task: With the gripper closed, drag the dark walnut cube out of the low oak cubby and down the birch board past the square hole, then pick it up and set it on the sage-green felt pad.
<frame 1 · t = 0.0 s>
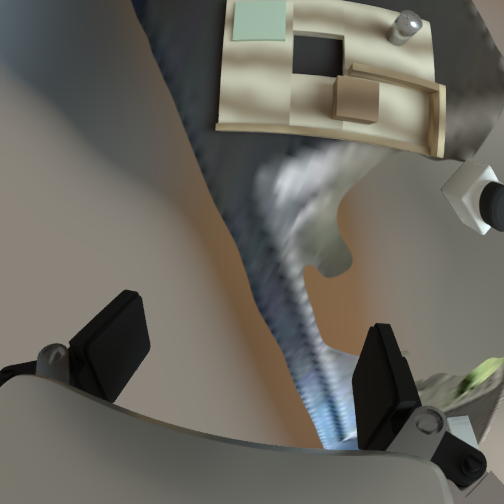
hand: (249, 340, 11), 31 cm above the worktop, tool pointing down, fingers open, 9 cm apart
board: (332, 65, 31), on the worktop
walnut cube: (351, 104, 31), point 2 cm above the worktop, touching board
supplement box: (448, 424, 52), on the worktop
grey metal peg: (395, 37, 26), point 2 cm above the worktop, touching board
medicine bottle: (463, 191, 34), on the worktop
pad: (260, 21, 29), resting on board
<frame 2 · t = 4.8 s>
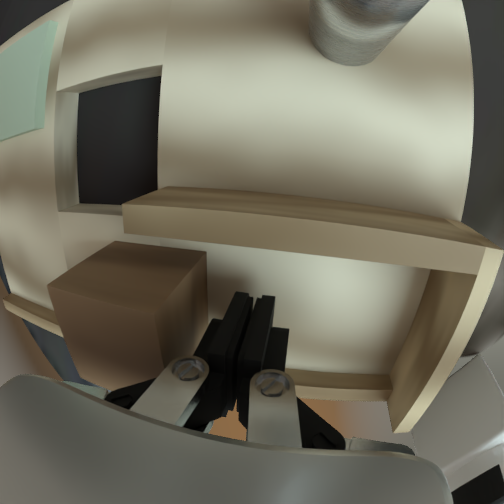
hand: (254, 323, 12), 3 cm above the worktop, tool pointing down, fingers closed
board: (150, 160, 13), on the worktop
walnut cube: (161, 292, 14), point 2 cm above the worktop, touching board, gripper
grey metal peg: (346, 34, 8), point 2 cm above the worktop, touching board
medicine bottle: (454, 394, 16), on the worktop
pad: (19, 86, 10), resting on board
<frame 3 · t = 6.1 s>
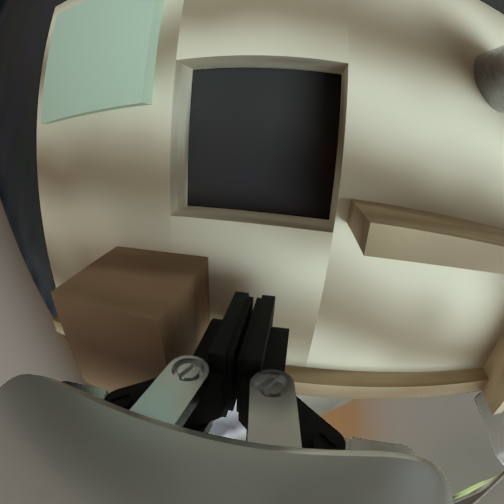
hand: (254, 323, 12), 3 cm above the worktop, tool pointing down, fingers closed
board: (302, 163, 12), on the worktop
walnut cube: (163, 296, 14), point 2 cm above the worktop, touching gripper
grey metal peg: (496, 82, 7), point 2 cm above the worktop, touching board
pad: (99, 50, 9), resting on board
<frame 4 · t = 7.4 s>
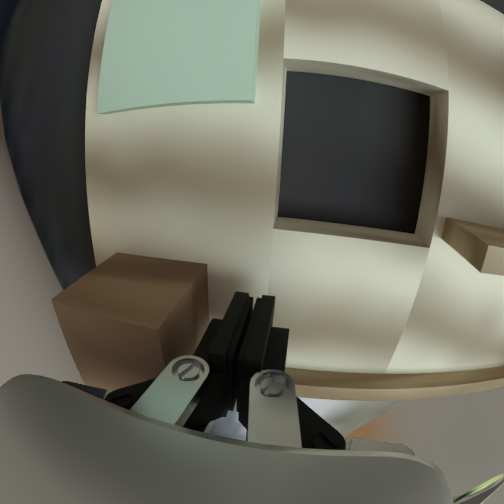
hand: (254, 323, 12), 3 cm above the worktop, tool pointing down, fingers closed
board: (396, 179, 12), on the worktop
walnut cube: (163, 302, 14), point 2 cm above the worktop, touching gripper
pad: (178, 33, 9), resting on board
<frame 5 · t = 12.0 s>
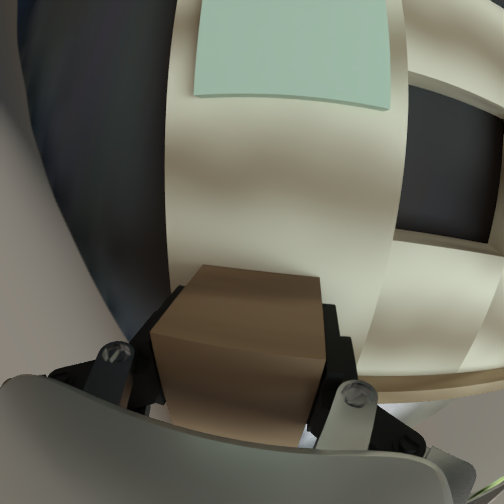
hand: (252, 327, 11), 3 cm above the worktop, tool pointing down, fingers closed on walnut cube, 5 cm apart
board: (478, 194, 10), on the worktop
walnut cube: (257, 319, 13), point 2 cm above the worktop, touching board, gripper
pad: (294, 20, 8), resting on board
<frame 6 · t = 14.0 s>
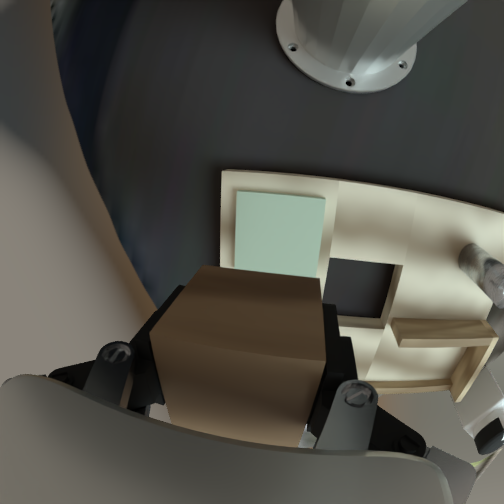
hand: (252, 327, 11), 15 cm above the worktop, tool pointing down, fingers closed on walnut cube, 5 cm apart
board: (373, 296, 26), on the worktop
walnut cube: (256, 320, 13), point 14 cm above the worktop, touching gripper
grey metal peg: (469, 257, 21), point 2 cm above the worktop, touching board
medicine bottle: (473, 387, 29), on the worktop
pad: (278, 234, 24), resting on board
when the fingers open (5 cm above the worktop, at t = 16.2 s): walnut cube stays where it is, resting on pad.
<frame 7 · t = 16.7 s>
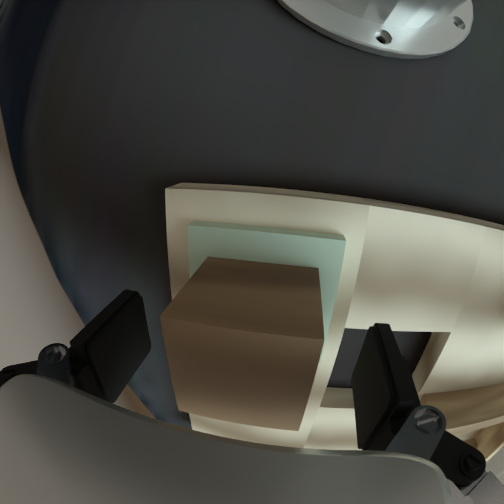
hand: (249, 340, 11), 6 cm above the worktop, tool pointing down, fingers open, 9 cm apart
board: (399, 365, 17), on the worktop
walnut cube: (259, 309, 13), point 3 cm above the worktop, touching pad
medicine bottle: (495, 434, 19), on the worktop
pad: (262, 294, 14), resting on board
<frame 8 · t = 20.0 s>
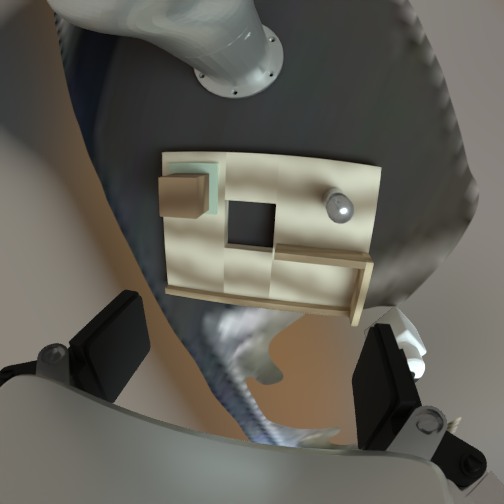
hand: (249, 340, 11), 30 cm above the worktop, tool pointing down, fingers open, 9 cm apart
board: (264, 230, 41), on the worktop
walnut cube: (191, 191, 38), point 3 cm above the worktop, touching pad
grey metal peg: (333, 198, 35), point 2 cm above the worktop, touching board
medicine bottle: (389, 328, 43), on the worktop
pad: (194, 187, 38), resting on board
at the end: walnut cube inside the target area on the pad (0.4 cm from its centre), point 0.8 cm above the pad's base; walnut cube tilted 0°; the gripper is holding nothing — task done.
